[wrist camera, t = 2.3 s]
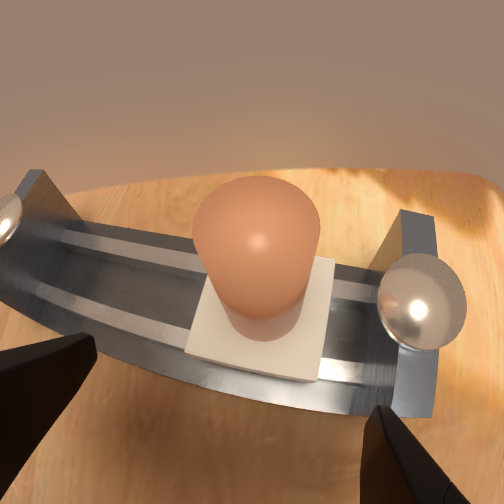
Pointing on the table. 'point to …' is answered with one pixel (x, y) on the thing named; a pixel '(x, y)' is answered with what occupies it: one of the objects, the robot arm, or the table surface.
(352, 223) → the table surface
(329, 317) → the rail
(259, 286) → the carriage
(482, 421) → the table surface
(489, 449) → the table surface
